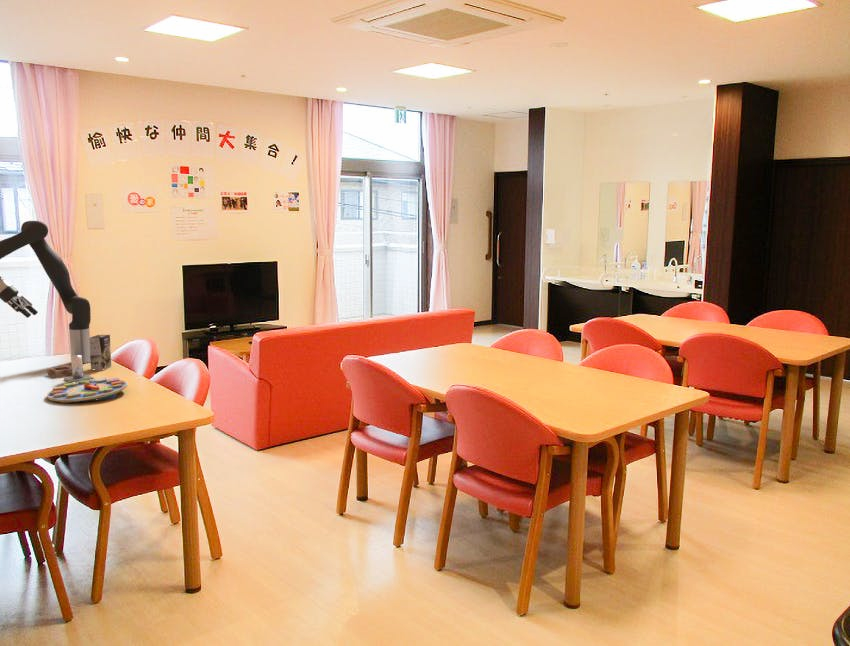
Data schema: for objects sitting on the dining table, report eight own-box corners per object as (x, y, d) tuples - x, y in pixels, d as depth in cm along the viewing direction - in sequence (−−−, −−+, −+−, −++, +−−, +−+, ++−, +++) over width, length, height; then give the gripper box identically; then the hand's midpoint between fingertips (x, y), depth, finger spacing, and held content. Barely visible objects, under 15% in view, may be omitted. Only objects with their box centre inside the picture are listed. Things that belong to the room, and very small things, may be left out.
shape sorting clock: (47, 391, 308) (46, 377, 307) (124, 384, 322) (123, 371, 321) (46, 408, 281) (45, 393, 280) (131, 400, 295) (130, 386, 294)
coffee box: (103, 370, 348) (101, 337, 346) (90, 370, 348) (88, 337, 346) (112, 366, 357) (110, 334, 355) (99, 366, 357) (97, 334, 355)
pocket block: (67, 371, 344) (66, 365, 344) (76, 374, 338) (76, 368, 338) (47, 375, 337) (47, 368, 337) (56, 377, 331) (56, 371, 331)
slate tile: (83, 376, 334) (83, 374, 334) (93, 379, 329) (93, 377, 329) (64, 380, 327) (64, 377, 327) (73, 383, 322) (73, 380, 322)
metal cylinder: (81, 375, 331) (79, 354, 329) (85, 377, 328) (83, 355, 326) (71, 377, 328) (69, 356, 326) (75, 379, 325) (73, 357, 323)
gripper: (3, 285, 319) (33, 311, 323) (15, 282, 333) (44, 307, 337) (-9, 297, 319) (21, 323, 323) (4, 294, 333) (32, 318, 337)
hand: (33, 315), depth 330 cm, fingers open, 8 cm apart
